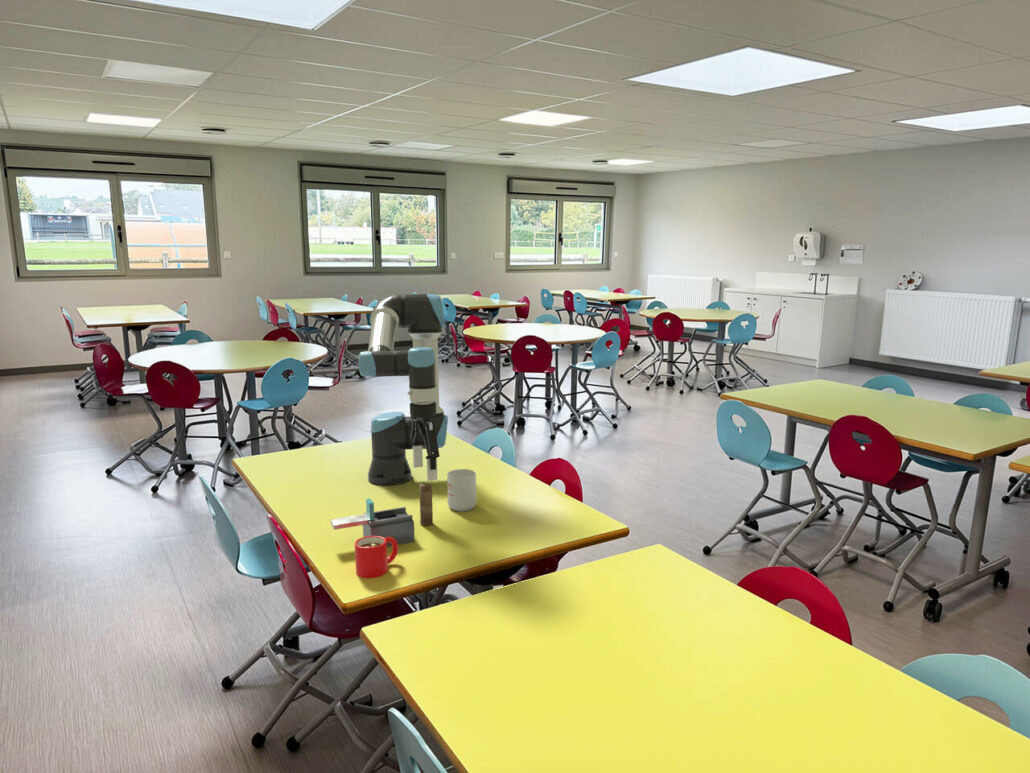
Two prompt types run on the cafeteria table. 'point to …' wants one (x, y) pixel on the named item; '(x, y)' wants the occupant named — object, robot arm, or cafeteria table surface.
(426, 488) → the dowel
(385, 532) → the mount
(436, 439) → the robot arm
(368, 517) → the grey teal l-shaped bracket
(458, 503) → the mug
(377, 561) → the mug
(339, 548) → the cafeteria table surface
